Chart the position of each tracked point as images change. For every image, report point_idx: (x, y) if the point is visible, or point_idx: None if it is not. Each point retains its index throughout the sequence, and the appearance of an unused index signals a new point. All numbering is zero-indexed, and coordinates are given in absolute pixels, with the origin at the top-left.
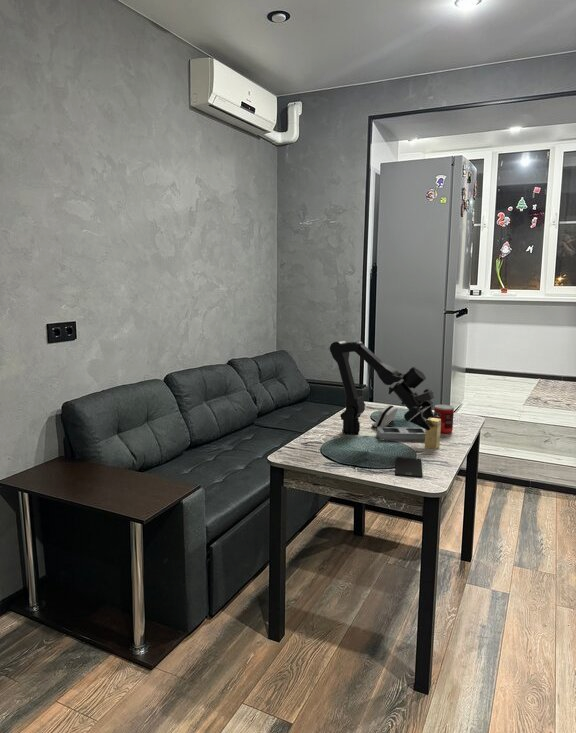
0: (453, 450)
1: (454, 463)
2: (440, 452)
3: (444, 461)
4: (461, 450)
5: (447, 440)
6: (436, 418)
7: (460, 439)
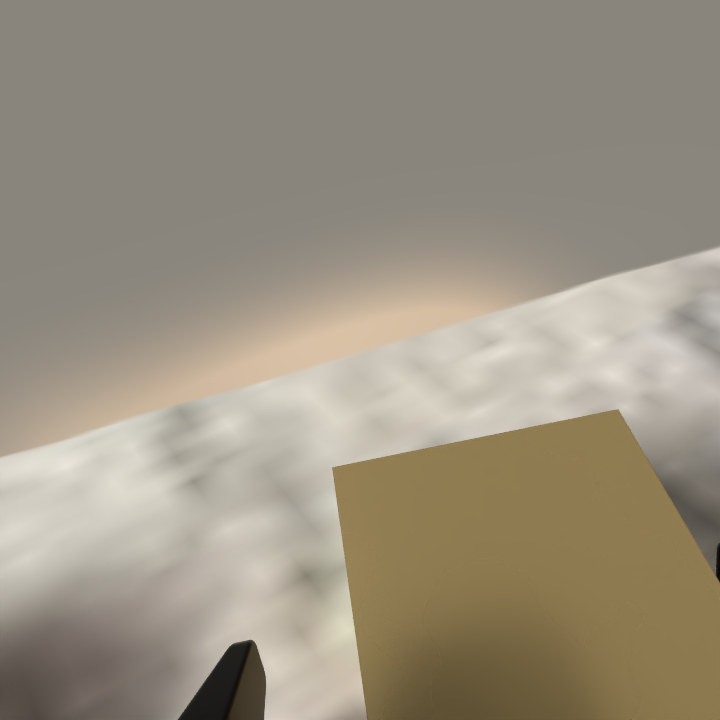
0: (394, 401)
1: (643, 277)
2: None
3: (680, 330)
4: (350, 363)
5: (133, 585)
6: (372, 593)
7: (48, 502)
